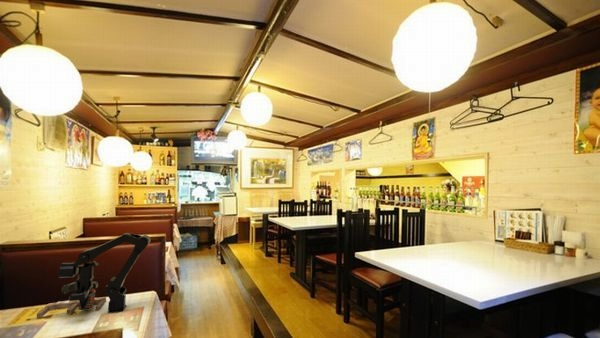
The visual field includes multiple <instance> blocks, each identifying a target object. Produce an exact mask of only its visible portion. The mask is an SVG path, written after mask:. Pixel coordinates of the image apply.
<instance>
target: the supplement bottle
mask: <svg viewBox="0 0 600 338" xmlns="http://www.w3.org/2000/svg"><path fill="white" fill-rule="evenodd" d="M94 286H95V285H94ZM94 286H93V287H92V288H91V289H90V291H94V292H93V293H92V295H91V297H90V299H89V301H88V302H87V304H86V306H85V308H84V309H81V305H80V302H79V306H78V308H77V310H79V311H86V310H87V311H88V310H92V309H93V307H94V305H93V303H94V298H96V292H97V290H96V288H94Z"/></svg>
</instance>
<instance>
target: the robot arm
mask: <svg viewBox="0 0 600 338" xmlns="http://www.w3.org/2000/svg"><path fill="white" fill-rule="evenodd" d="M150 242H151V237H150V236H149V235H148V234H142V235H141V234H135V233H130V232H125V233H123V234H122V235H119V236H117V237H116V238H112V240H109V241H107V242H105V243H103V244H101V245H98V246H94V247H91V248H88V249H85V250H84V251H82V252H81V253H80V252H79V254H78V256H77V259H76V260H75V261H74V262H62V263H61V264H60V267H59V269H58V272H57V277H58V278H59V279H63V278H74V277H75V276H76V275H77V279H75V281H74V282H71V283H67V284H64V285H63V286H62V287H61V293H63V294H64V295H66V294H68V293H69V292H72V293H71V294H70V295H69V296H68V301H75V300H79V302H80V305H81V309H84V308H85V306H86V304H87V302H88V301H89V299H90V297H91V295H92V293H93V292H94V291H90V289H91V288H92V287H93V286H94V285H95V286H94V289H97V288H98V287H99V282H98V281H93V279H95V276H94V267H98V265H99V262H97V261H96V260H94V259H95V258H97V257H98V256H100V255H102V254H103V253H104V252H105V253H106V252H107V251H109V250H111V249H113V248H115V247H117V246H120V245H122V244H124V243H128V244H131V245H133V249H132V252H131V254H130V255H129V257H128V259H127V260H126V262H125V263H124V265H123V266H122V268H121V270H120V271H119V273H118V274H117V275H116V277H115V276H113V277H112V278H111V279H110V280H109V282H108V284H107V285H106V286H105V291H104V293H105V295H106V296H107V297H108V298H109V301H108V306H107V307H108V309H107V310H108V311H107V313H111V314H113V313H118V312H123V311H125V310H126V307H127V304H126V297H127V296H126V293H127V290H128V289H127V288H126V287H124V286H123V285H124V283H125V280H126V277H127V275H128V274H129V272H130V271H131V270H132V268H133V266H134V264H136V261H137V260H138V258H139V256H140V254H141V253H142V252H143V251H144V250H145V249H146V248H147V247H148V245H149V244H150ZM93 260H94V261H93ZM91 261H92V262H91Z"/></svg>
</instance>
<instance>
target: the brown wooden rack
mask: <svg viewBox="0 0 600 338" xmlns="http://www.w3.org/2000/svg"><path fill="white" fill-rule="evenodd" d="M106 302H107V297H106V296H103V297H95V298H94V303H93V306H95V312H96V311H100V310H101V308H102V307H103V306H104V305H105V303H106ZM78 306H79V300H73V301H69V300H63V301H57V302H51V303H48V304H46V305H45V307H43V308H42V309H40V311H39V312H37V313H36V319H40V318H41V319H42V317H43V316H44V315H45V314H47V313H48V312H49V311H57V310H56V309H58V310H63V309H65V310H66V311H65V313H66V314H65V315H72V314H73V313H74V312H75V311H76V310H78Z"/></svg>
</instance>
